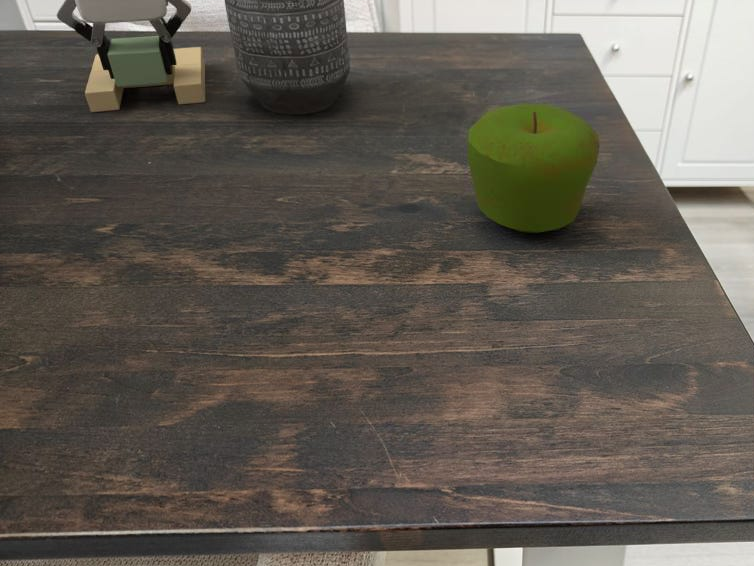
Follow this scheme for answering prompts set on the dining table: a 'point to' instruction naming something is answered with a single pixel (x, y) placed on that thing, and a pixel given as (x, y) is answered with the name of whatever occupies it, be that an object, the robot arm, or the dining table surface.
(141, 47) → the sage green rounded cube
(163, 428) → the dining table surface
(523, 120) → the apple
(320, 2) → the planter
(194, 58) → the u-shaped wooden block
